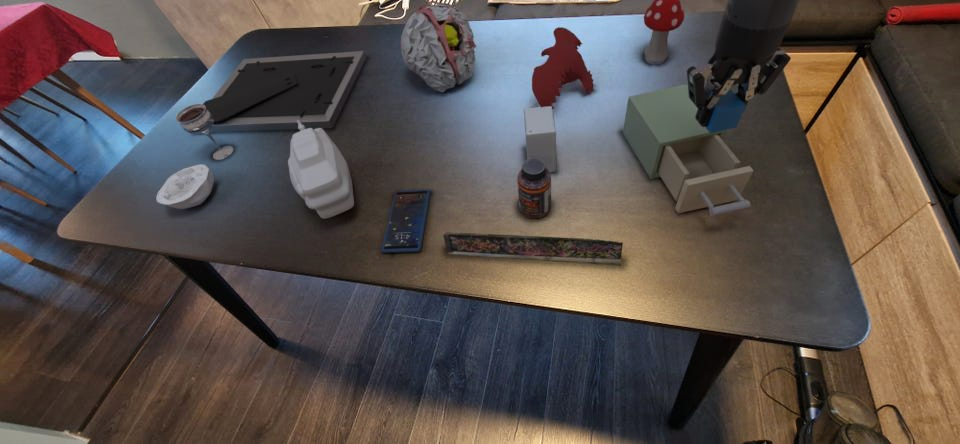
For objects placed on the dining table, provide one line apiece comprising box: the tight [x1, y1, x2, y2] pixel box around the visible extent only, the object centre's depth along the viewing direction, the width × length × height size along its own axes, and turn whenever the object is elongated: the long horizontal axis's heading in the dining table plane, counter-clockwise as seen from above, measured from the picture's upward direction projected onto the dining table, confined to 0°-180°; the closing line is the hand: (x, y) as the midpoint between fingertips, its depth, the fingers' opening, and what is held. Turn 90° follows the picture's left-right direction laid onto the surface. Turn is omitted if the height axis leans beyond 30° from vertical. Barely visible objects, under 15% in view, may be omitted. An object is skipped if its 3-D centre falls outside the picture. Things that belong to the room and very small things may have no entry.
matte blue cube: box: [705, 88, 747, 133], centre depth 65 cm, size 4×4×4 cm
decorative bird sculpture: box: [531, 26, 594, 110], centre depth 99 cm, size 28×9×15 cm
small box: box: [523, 105, 557, 173], centre depth 84 cm, size 8×6×10 cm
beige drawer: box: [657, 134, 754, 217], centre depth 74 cm, size 18×11×7 cm, turn 10°
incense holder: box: [442, 231, 624, 266], centre depth 72 cm, size 30×1×5 cm, turn 81°
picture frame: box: [202, 50, 367, 134], centre depth 116 cm, size 31×4×39 cm
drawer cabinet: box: [622, 83, 728, 180], centre depth 82 cm, size 14×12×9 cm
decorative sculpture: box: [399, 0, 477, 93], centre depth 107 cm, size 19×21×20 cm
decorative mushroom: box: [643, 0, 685, 66], centre depth 99 cm, size 10×9×15 cm
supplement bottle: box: [516, 158, 552, 219], centre depth 76 cm, size 6×6×11 cm
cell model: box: [155, 163, 215, 210], centre depth 93 cm, size 10×12×7 cm
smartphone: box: [380, 189, 431, 254], centre depth 83 cm, size 8×1×15 cm
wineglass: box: [175, 103, 234, 161], centre depth 100 cm, size 7×7×12 cm
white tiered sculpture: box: [287, 120, 355, 220], centre depth 83 cm, size 11×18×16 cm, turn 24°
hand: (717, 119), depth 67 cm, fingers closed on matte blue cube, 4 cm apart
